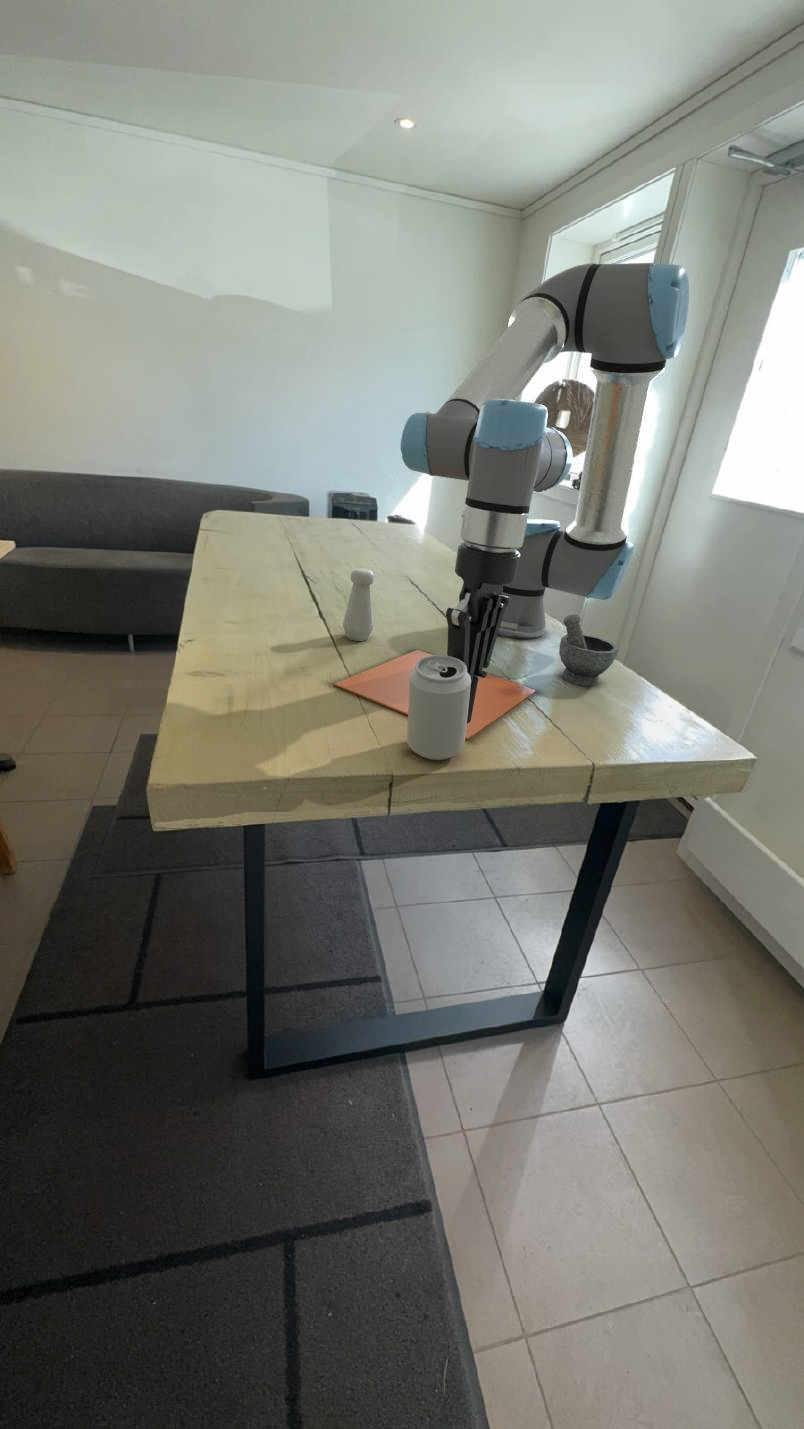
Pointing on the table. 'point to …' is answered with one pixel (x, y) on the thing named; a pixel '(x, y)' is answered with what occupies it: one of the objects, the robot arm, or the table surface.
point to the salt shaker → (359, 606)
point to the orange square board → (393, 690)
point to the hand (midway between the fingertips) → (459, 719)
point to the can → (438, 706)
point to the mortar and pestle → (584, 654)
